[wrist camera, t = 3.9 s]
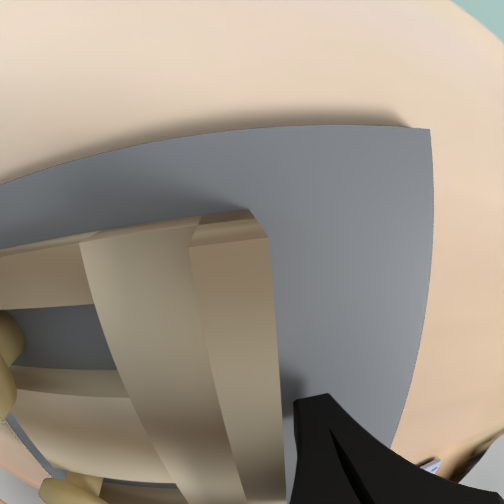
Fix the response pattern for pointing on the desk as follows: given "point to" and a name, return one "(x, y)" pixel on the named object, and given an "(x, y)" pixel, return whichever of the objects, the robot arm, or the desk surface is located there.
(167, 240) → the panel
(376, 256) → the keyhole board
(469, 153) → the desk surface
